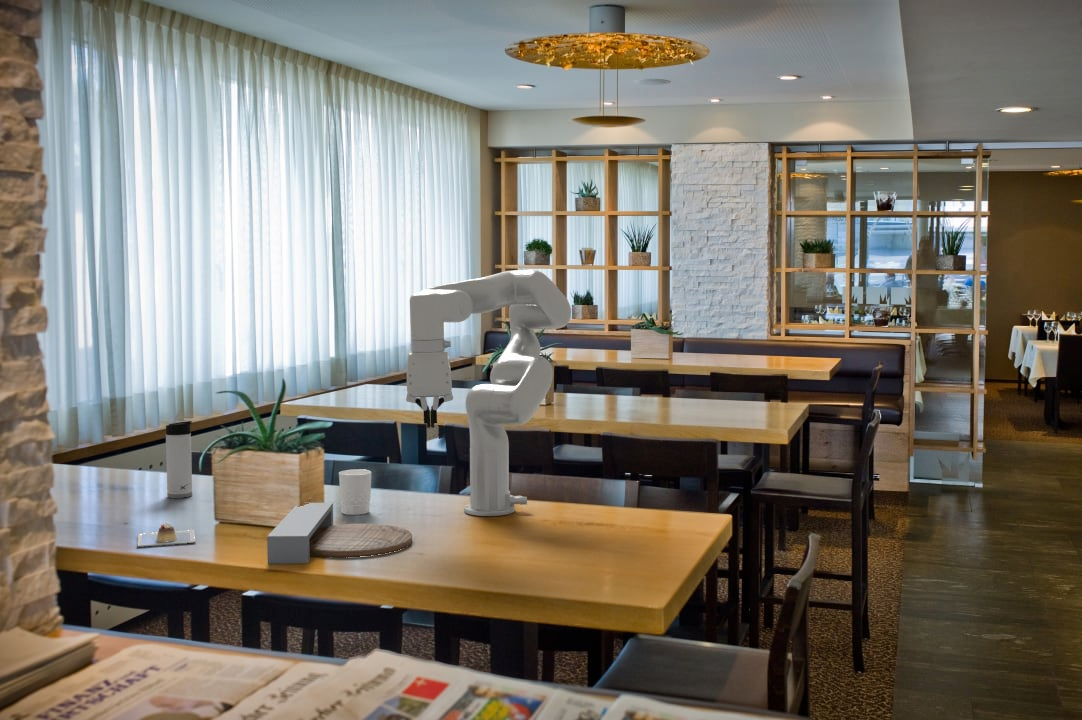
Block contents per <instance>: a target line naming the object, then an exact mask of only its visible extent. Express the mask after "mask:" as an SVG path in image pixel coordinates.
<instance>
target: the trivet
mask: <svg viewBox="0 0 1082 720" xmlns="http://www.w3.org/2000/svg"><path fill="white" fill-rule="evenodd" d="M411 542H412V543H413V534H412V533H411V531H410V530H407V529H406V528H402V527H399V526H394V525H388V524H378V523H349V524H348V523H346V524H336V525H333V526H327V527H322V528H317V530H316V531H315V532H314V533H313V535H312V536H311V537H310V539H309V551H310V556H314V557H320V558H330V557H332V558H333V559H334V558H335V559H349V558H348V557H360V556H371V555H378V554H385V553H389V552H394V551H398V550H400V549H403V548H406V547H407V546H408V547H410V546H411V545H412V543H411ZM410 544H411V545H410ZM409 545H410V546H409ZM408 547H407V548H408ZM407 548H406V549H407ZM403 550H404V549H403ZM400 551H401V550H400ZM398 552H399V551H398ZM394 553H395V552H394ZM385 555H386V554H385ZM346 557H347V558H346ZM332 558H331V559H332Z"/></svg>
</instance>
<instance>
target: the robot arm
mask: <svg viewBox="0 0 1082 720" xmlns="http://www.w3.org/2000/svg"><path fill="white" fill-rule="evenodd" d="M506 307H508V308H509V309H508V318H509V319H508V320H509V328H510V339H509V342H508V344H507V345H506V347H505V348H504V349H503V351H502V353H501V354H500V356H499V357H498V359H497V360H496V361H495V363H494V365H493V367H492V369H491V371H490V374H489V375H490V376H489V380H490V383H482V384H476V385H474V386H473V387H471V388H470V389H469V391H468V392H467V394H466V397H465V409H466V417H467V420H468V429H469V483H470V484H469V492H470V493H469V495H470V496H469V503H468V504H466V505H464V507H463V512H464V513H465V514H467V515H472V516H476V517H477V516H479V517H499V516H506V515H510V514H512V513H515V511H516V506H515V505H521V506H522V505H528V497H527V496H522V495H512V494H511V490H510V489H509V486H510V485H509V483H510V481H509V480H510V477H509V476H510V475H509V474H510V473H509V471H510V470H509V468H510V467H509V464H510V461H509V455H510V454H509V452H510V451H509V450H510V449H509V448H510V445H509V444H510V442H509V437H508V434H507V431H506V429H505V427H504V425H510V426H523V425H525V424H527V423H528V422H529V421H530V420H531V419H532V418H533V416H534V415H535V414H536V412H537V411H538V408H539V407H540V406H541V404H542V403H543V401H544V399H545V397H546V395H547V394H548V393H549V390H550V389H551V386H552V383H553V375H554V373H553V372H554V371H553V367H552V364H551V362H550V361H549V360H548V359H547V358H545V357H544V356H540V355H541V351H542V349H541V344H540V342H539V339H538V337H537V335H536V332H535V329H545V330H546V329H548V330H551V329H552V330H556V329H561V328H564V327H566V326H567V325H568V324H569V322H570V320H571V317H572V308H571V304H570V302H569V300H568V299H567V297H566V295H565V294H564V293H563V292H562V291H561V290H560V289H559V288H558V286H557V285H556V284H555V283H554V282H553V281H552V280H551V278H549V277H548V276H547V275H546V274H545V273H543V272H542V271H540V270H534V269H533V270H525V269H524V270H520V269H519V270H517V269H515V270H505V271H502V272H498V273H495V274H491V275H487V276H484V277H479V278H474V279H466V280H464V281H463V280H462V281H458V282H453V283H445V284H441V285H437V286H433V287H428V288H425V289H422V290H421V291H419V292H415V293H413V294H411V295H410V298H409V319H410V322H409V323H410V343H411V344H410V347H411V351H410V352H409V353H408V355H407V363H406V392H407V394H406V399H405V401H406V402H408V403H411V404H416V405H417V406H418V407H420V409H421V410H422V411H423V425H424V424H426V428H427V429H429V428H432V429H434V428H435V424H438V411H437V410H438V409H439V408H440V407H441V406H442V405H443V404H444V403H447V402H451V401H453V400H454V395H453V392H452V390H453V387H452V386H453V380H452V370H451V361H450V356H449V355H450V354H449V352H448V351H446V350H445V349H446V348H451V347H452V346H451V343H452V341H449V340H446V339H445V323H462V322H464V321H466V320H467V319H469V318H470V316H471V315H472V314H483V313H487V314H488V313H491V312H493V311H496V310H499V309H502V308H506ZM427 398H433V400H432V401H433V402H432V405H431V407H429V405H428V401H427ZM430 408H431V409H430Z"/></svg>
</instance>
